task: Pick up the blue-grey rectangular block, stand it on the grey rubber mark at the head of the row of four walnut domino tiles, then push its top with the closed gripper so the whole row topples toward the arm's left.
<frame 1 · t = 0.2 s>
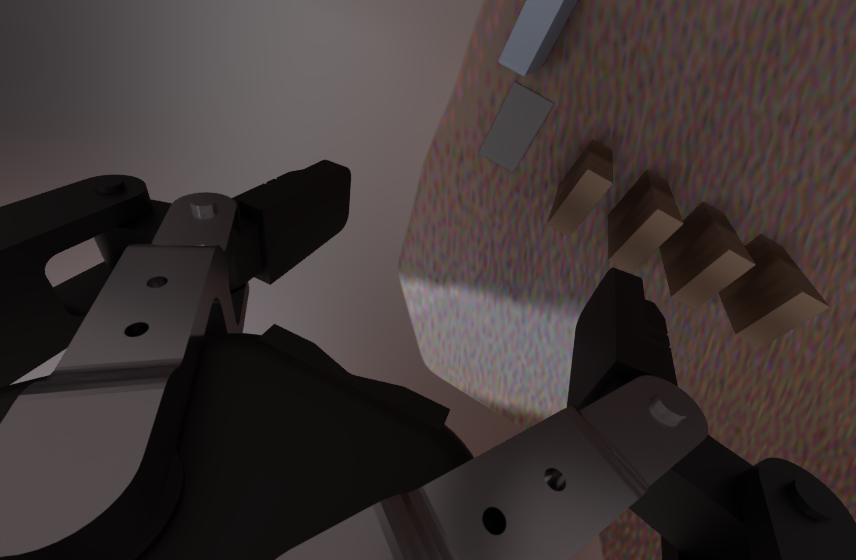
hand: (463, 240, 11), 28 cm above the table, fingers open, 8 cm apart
tile 5: (744, 260, 33), on the table
tile 4: (689, 229, 33), on the table
tile 2: (583, 169, 34), on the table
blue-grey rectangular block: (549, 27, 29), on the table
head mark: (514, 129, 34), on the table
tile 3: (636, 199, 34), on the table
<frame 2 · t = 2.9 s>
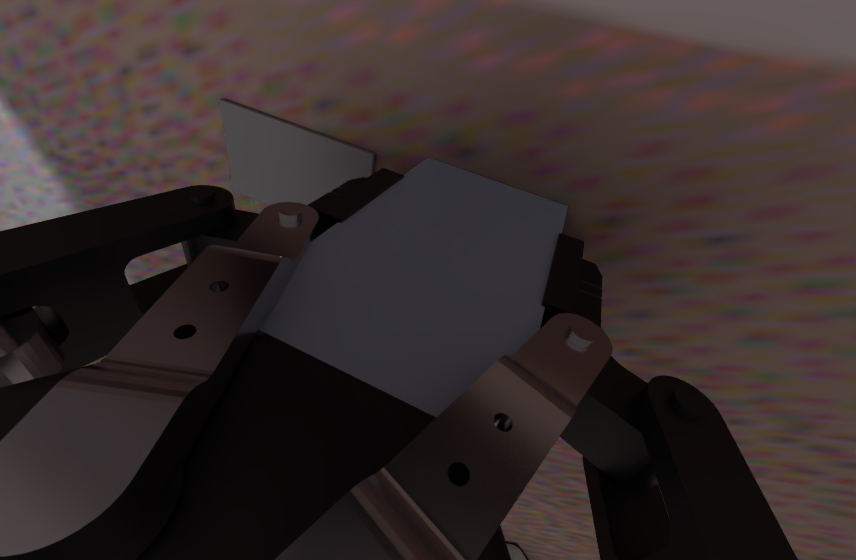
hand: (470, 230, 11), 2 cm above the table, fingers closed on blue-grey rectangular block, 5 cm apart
blue-grey rectangular block: (486, 207, 13), on the table, touching gripper
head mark: (297, 173, 15), on the table
when the fingers open (3 cm above the table, at t = 8.0 s): blue-grey rectangular block stays where it is, resting on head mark.
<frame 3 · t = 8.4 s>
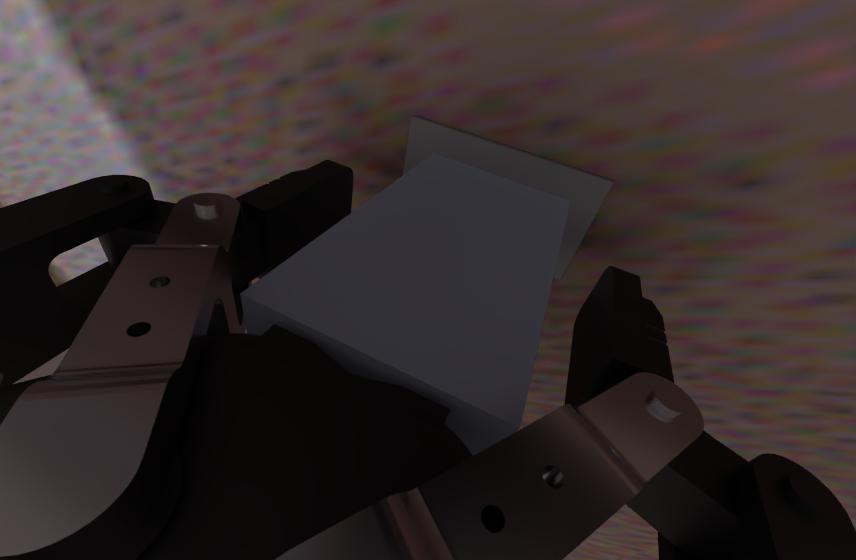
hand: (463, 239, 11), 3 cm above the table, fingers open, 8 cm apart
blue-grey rectangular block: (490, 202, 13), resting on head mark
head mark: (490, 200, 13), on the table
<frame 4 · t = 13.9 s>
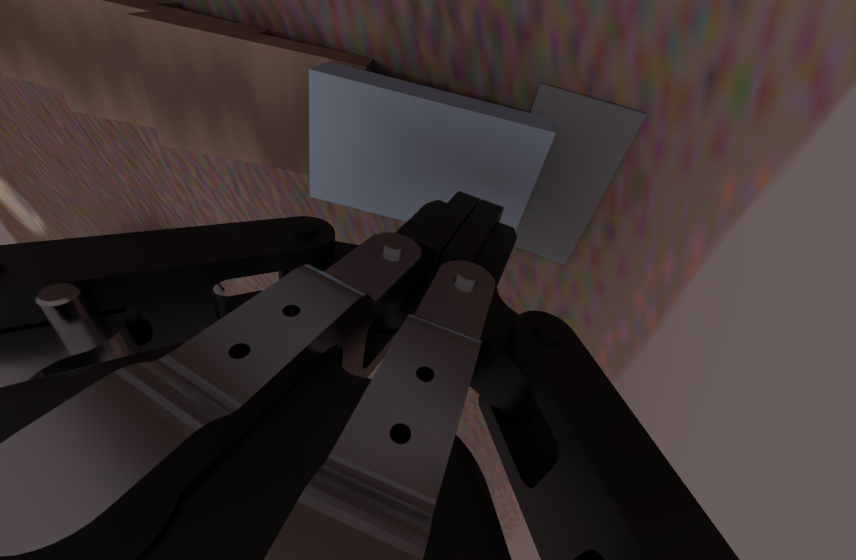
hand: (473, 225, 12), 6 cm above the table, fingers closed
tile 4: (178, 62, 19), point 1 cm above the table, tilted 72°
tile 2: (364, 123, 17), point 1 cm above the table, tilted 69°, touching tile 3, blue-grey rectangular block
blue-grey rectangular block: (528, 186, 15), point 1 cm above the table, tilted 76°, touching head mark, tile 2
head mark: (554, 183, 16), on the table
tile 3: (264, 92, 18), point 1 cm above the table, tilted 68°, touching tile 2
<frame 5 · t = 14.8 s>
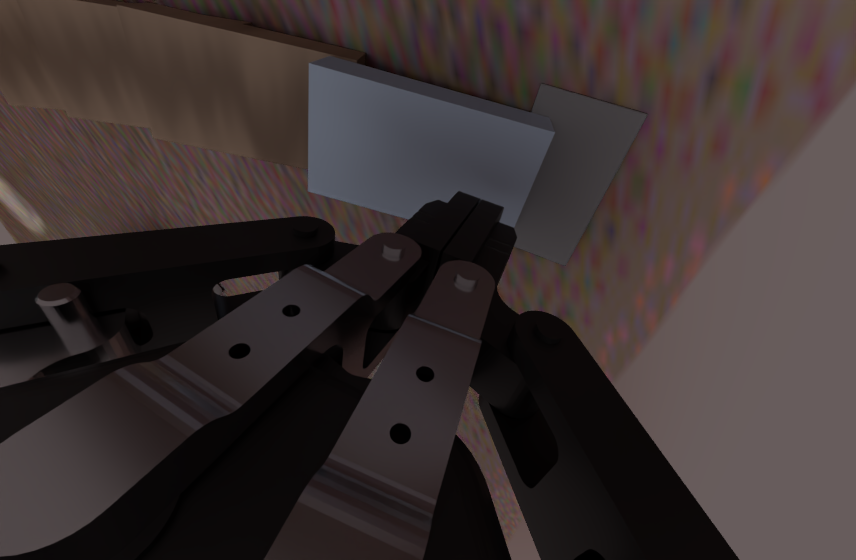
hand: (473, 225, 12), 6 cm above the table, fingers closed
tile 4: (160, 64, 19), point 1 cm above the table, tilted 73°, touching tile 5
tile 2: (357, 118, 17), point 1 cm above the table, tilted 70°, touching tile 3, blue-grey rectangular block
blue-grey rectangular block: (526, 185, 15), point 1 cm above the table, tilted 77°, touching tile 2
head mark: (555, 183, 16), on the table
tile 3: (251, 85, 18), point 1 cm above the table, tilted 70°, touching tile 2
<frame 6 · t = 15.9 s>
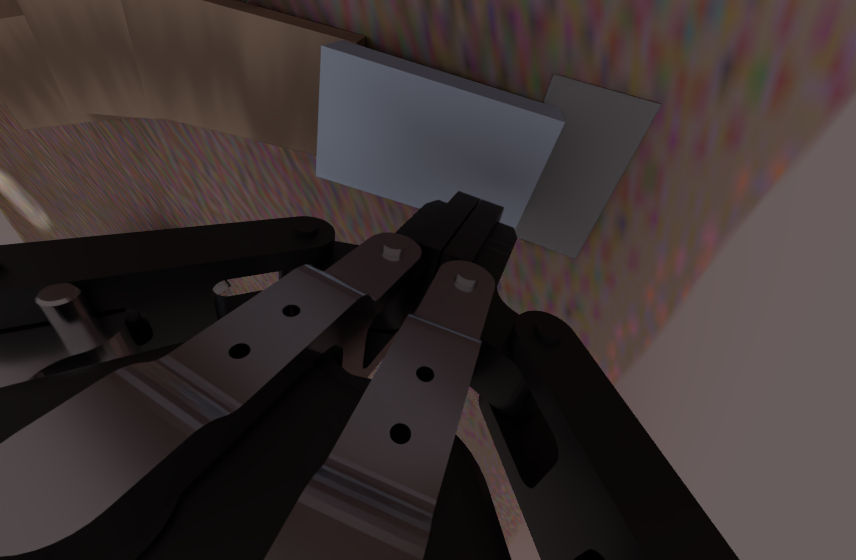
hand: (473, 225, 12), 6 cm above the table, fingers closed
tile 5: (105, 32, 21), on the table, tilted 90°, touching tile 4
tile 4: (150, 60, 20), point 1 cm above the table, tilted 71°, touching tile 3, tile 5
tile 2: (355, 102, 17), point 1 cm above the table, tilted 70°, touching tile 3, blue-grey rectangular block
blue-grey rectangular block: (534, 176, 15), point 1 cm above the table, tilted 78°, touching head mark, tile 2
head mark: (566, 175, 16), on the table
tile 3: (243, 68, 18), point 1 cm above the table, tilted 70°, touching tile 2, tile 4
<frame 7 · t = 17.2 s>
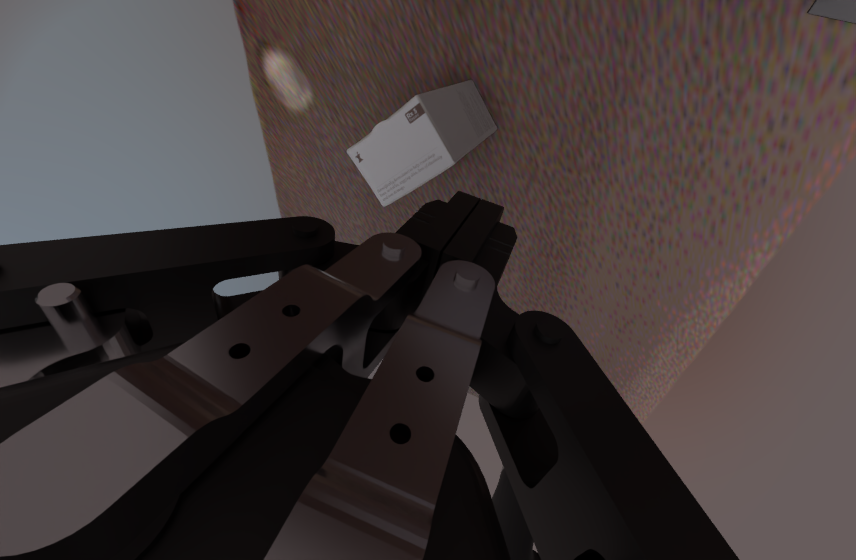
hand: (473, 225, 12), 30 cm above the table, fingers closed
skincare box: (456, 121, 40), on the table
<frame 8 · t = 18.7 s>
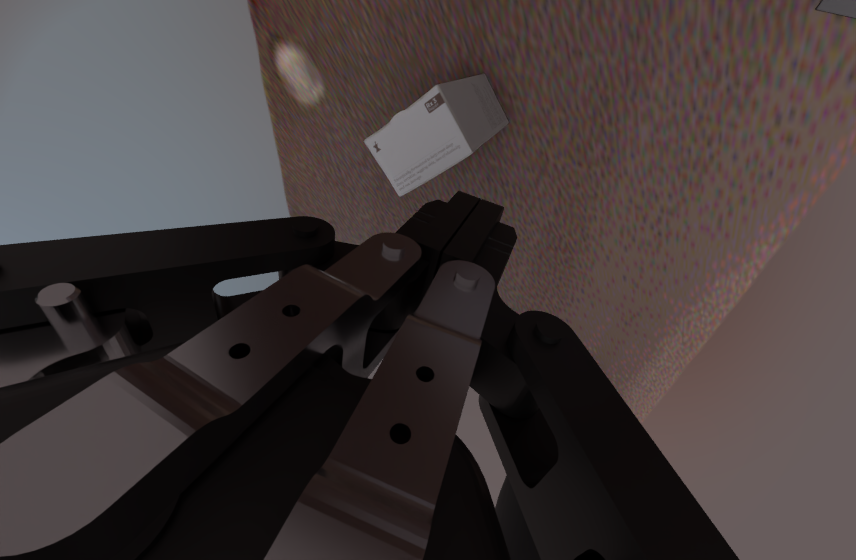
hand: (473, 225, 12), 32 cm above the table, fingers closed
skincare box: (468, 115, 41), on the table
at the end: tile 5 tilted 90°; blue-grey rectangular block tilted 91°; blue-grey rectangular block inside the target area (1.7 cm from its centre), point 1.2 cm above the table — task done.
